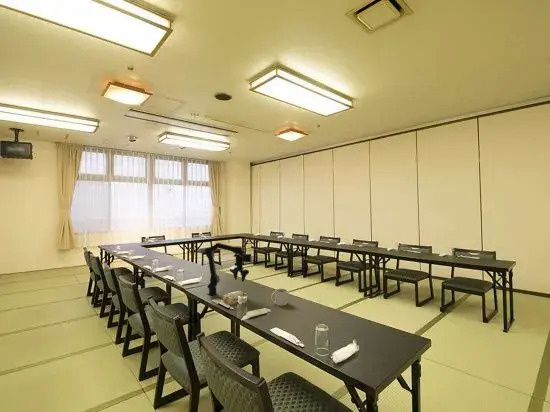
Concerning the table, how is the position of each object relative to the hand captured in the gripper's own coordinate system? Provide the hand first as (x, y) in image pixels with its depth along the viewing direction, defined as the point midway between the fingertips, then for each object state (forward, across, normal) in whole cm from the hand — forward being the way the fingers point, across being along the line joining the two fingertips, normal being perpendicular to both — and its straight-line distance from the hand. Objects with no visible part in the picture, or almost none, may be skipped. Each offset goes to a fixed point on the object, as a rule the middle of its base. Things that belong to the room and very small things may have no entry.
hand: (239, 280), depth 226 cm
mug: (+12, +37, +10) cm, 40 cm away
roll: (+8, +8, -10) cm, 15 cm away
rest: (+12, -3, -4) cm, 13 cm away
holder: (+12, +8, -10) cm, 18 cm away
